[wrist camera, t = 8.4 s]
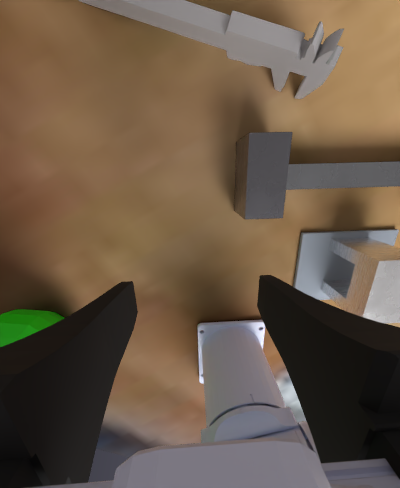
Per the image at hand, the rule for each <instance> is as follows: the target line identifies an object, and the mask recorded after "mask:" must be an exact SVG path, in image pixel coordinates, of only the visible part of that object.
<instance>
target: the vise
mask: <svg viewBox="0 0 400 488" xmlns="http://www.w3.org/2000/svg"><path fill="white" fill-rule="evenodd" d="M291 140H292V132H266V133H248V134H247V135H246V136H244V137H243V138H241V139H240V140H238V141H237V142H236V172H235V204H234V211H235V212H237V213H238V214H239V215H240V216H242V217H243V218H244V219H269V218H283V211H284V202H285V193H286V190H290V189H322V188H355V187H388V186H400V161H399V162H360V163H321V164H289V158H290V149H291Z"/></svg>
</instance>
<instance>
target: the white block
mask: <svg viewBox="0 0 400 488" xmlns="http://www.w3.org/2000/svg"><path fill="white" fill-rule="evenodd" d="M329 250H330V251H332V252H333V253H335V254H337V255H339V256H341V257H343V258H344V259H346V260H348V261H350V262H352V263H354V264H355V267H354V271H353V275H352V279H343V280H323V282H322V287H321V290H322V291H323V292H324V293H325V294H326V295H327V296H328V297H329V298H331V299H332V300H333V301H334V302H335V303H336V304H337V305H339V306H340V307H341V308H342V309H343V310H344V311H347V312H349V313H352V314H355V315H358V316H361V317H364V318H367V319H371V320H374V321H377V322H381V323H400V248H397V247H394V246H391V245H389V244H386V243H383V242H380V241H377V240H374V239H371V238H346V239H331V242H330V247H329Z"/></svg>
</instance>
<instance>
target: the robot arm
mask: <svg viewBox="0 0 400 488" xmlns="http://www.w3.org/2000/svg"><path fill="white" fill-rule="evenodd" d="M257 306H258V309H259V312H260V315H261V318H262V320H248V321H229V322H211V323H200V324H198V326H197V328H198V355H199V381H200V383H204V394H205V410H206V425H207V428H205V429H202V430H201V443H193V444H179V445H166V446H158V447H154V448H150V449H146V450H142V451H138V452H136V453H135V454H134V455H133V456H131V457H130V458H129V459H127V460H126V461H125V462H124V463H122V464H121V465H120V466H119V467H118V468H117V469H116V472H115V476H114V480H113V481H101V482H89V483H88V480H89V476H90V471H91V467H92V463H93V458H94V454H95V450H96V446H97V442H98V438H99V434H100V429H101V425H102V422H103V418H104V414H105V410H106V407H107V403H108V399H109V396H110V392H111V389H112V385H113V382H114V378H115V375H116V372H117V370H118V367H119V364H120V362H121V359H122V357H123V354H124V352H125V349H126V347H127V344H128V342H129V339H130V337H131V334H132V331H133V329H134V325H135V321H136V317H137V313H138V311H137V304H136V298H135V292H134V285H133V281H131V282H121V283H119V284H117V285H116V286H114V287H113V288H111V289H110V290H109V291H107V292H106V293H104V294H103V295H101V296H100V297H98V298H97V299H95V300H94V301H92V302H91V303H89V304H88V305H86V306H85V307H83V308H81V309H80V310H78V311H77V312H75V313H73V314H71V315H70V316H68V317H66V318H64V319H62V320H60V321H59V322H57V323H55V324H53V325H51V326H49V327H47V328H44V329H42V330H40V331H38V332H36V333H34V334H31V335H29V336H27V337H25V338H22V339H20V340H17V341H15V342H13V343H10V344H7V345H5V346H2V347H0V488H400V327H396V326H392V325H388V324H384V323H381V322H377V321H374V320H371V319H367V318H364V317H361V316H358V315H355V314H352V313H349V312H347V311H344V310H341V309H339V308H336V307H334V306H331V305H329V304H327V303H324V302H322V301H320V300H318V299H316V298H314V297H311V296H309V295H307V294H305V293H303V292H302V291H300V290H298V289H296V288H294V287H292V286H290V285H289V284H287V283H285V282H283V281H281V280H280V279H278V278H276V277H274V276H271V275H261V276H260V279H259V292H258V304H257ZM260 327H261V328H260ZM265 327H266V329H267V331H268V332H269V334H270V336H271V338H272V340H273V342H274V344H275V346H276V348H277V350H278V352H279V354H280V356H281V357H282V360H283V362H284V364H285V366H286V368H287V371H288V373H289V376H290V378H291V381H292V383H293V386H294V388H295V391H296V394H297V396H298V399H299V401H300V404H301V407H302V409H303V412H304V415H305V418H306V421H307V422H306V421H302V422H299V423H298V424H297V422H296V419H295V417H294V415H293V412H292V410H291V408H290V407H286V404H285V402H284V400H283V397H282V395H281V392H280V390H279V388H278V385H277V383H276V380H275V378H274V376H273V373H272V371H271V368H270V366H269V364H268V361H267V359H266V356H265V354H264V352H263V343H264V333H265ZM201 330H203V331H201Z"/></svg>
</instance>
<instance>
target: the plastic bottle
mask: <svg viewBox="0 0 400 488" xmlns="http://www.w3.org/2000/svg"><path fill="white" fill-rule="evenodd" d="M62 319H64V317H62V316H61V315H59V314H57V313H56V312H50V311H41V310H28V309H15V310H12V311H9V312H6V313H3V314H1V315H0V347H2V346H5V345H7V344H10V343H13V342H15V341H17V340H20V339H22V338H25V337H27V336H29V335H31V334H34V333H36V332H38V331H40V330H42V329H44V328H47V327H49V326H51V325H53V324H55V323H57V322H59V321H60V320H62Z"/></svg>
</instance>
